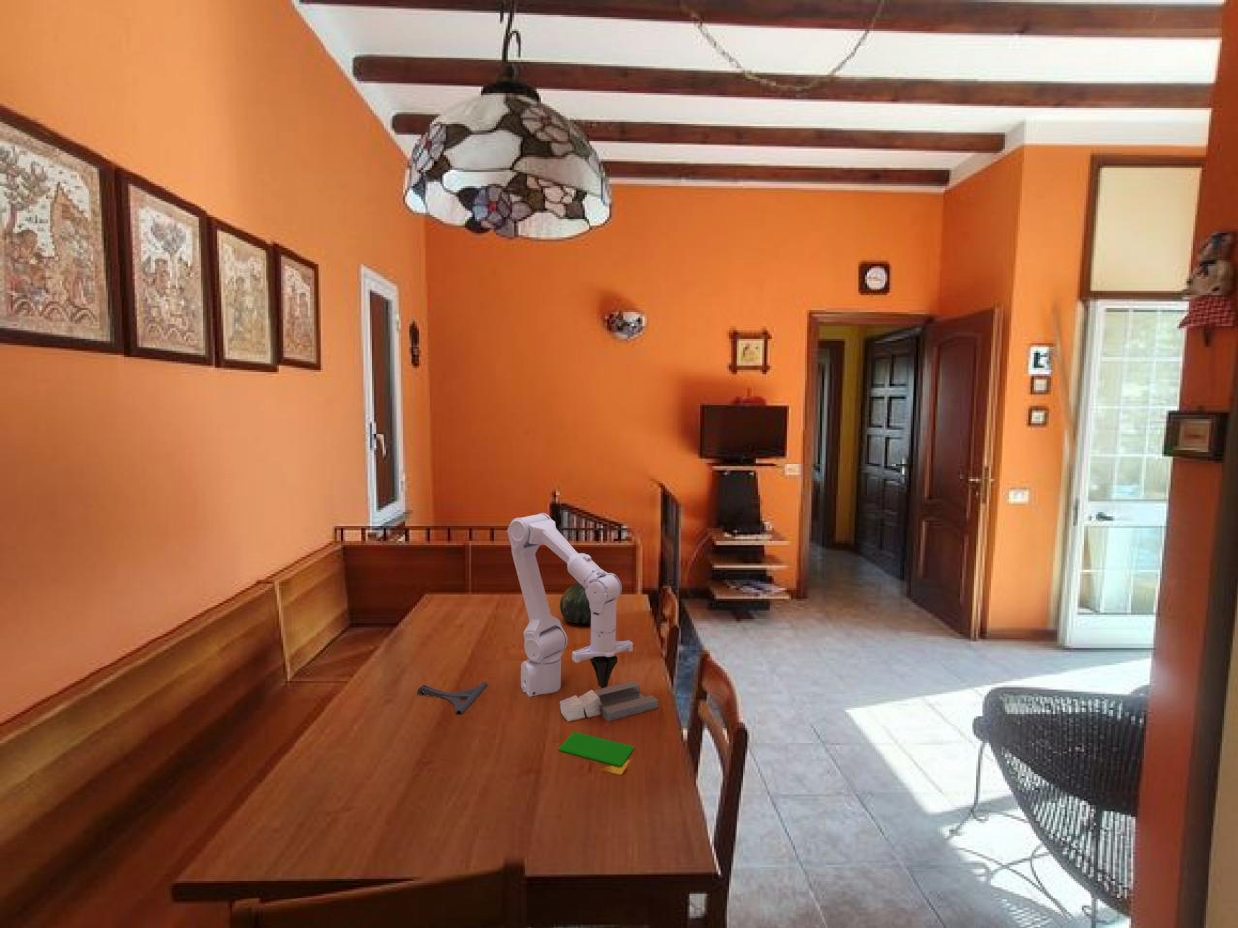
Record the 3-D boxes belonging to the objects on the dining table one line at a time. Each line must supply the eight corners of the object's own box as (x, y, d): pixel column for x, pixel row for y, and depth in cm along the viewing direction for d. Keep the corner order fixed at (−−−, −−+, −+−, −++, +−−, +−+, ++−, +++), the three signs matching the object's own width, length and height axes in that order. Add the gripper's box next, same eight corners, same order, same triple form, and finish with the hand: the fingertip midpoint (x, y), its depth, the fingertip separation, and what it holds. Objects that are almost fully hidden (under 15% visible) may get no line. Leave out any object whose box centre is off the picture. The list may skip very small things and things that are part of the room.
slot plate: (607, 727, 132) (607, 713, 131) (586, 705, 141) (586, 692, 141) (657, 713, 138) (658, 700, 138) (633, 693, 148) (634, 680, 147)
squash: (555, 597, 203) (562, 573, 193) (597, 595, 208) (607, 571, 197) (560, 636, 194) (568, 612, 183) (604, 633, 198) (615, 610, 188)
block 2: (589, 721, 134) (583, 706, 133) (582, 712, 137) (576, 698, 136) (604, 711, 135) (599, 697, 134) (597, 703, 139) (591, 689, 138)
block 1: (568, 725, 132) (566, 709, 131) (561, 717, 135) (559, 701, 135) (585, 719, 133) (582, 702, 133) (578, 711, 137) (575, 695, 136)
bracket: (432, 682, 154) (432, 672, 153) (487, 688, 151) (487, 677, 150) (402, 711, 139) (402, 699, 139) (462, 717, 137) (462, 706, 136)
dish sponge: (621, 777, 115) (621, 765, 115) (557, 759, 120) (557, 748, 120) (634, 757, 122) (634, 746, 121) (573, 741, 127) (574, 730, 127)
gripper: (581, 640, 128) (581, 700, 130) (639, 629, 135) (638, 686, 137) (568, 629, 134) (568, 686, 136) (624, 619, 141) (623, 674, 143)
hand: (602, 685), depth 137 cm, fingers closed
